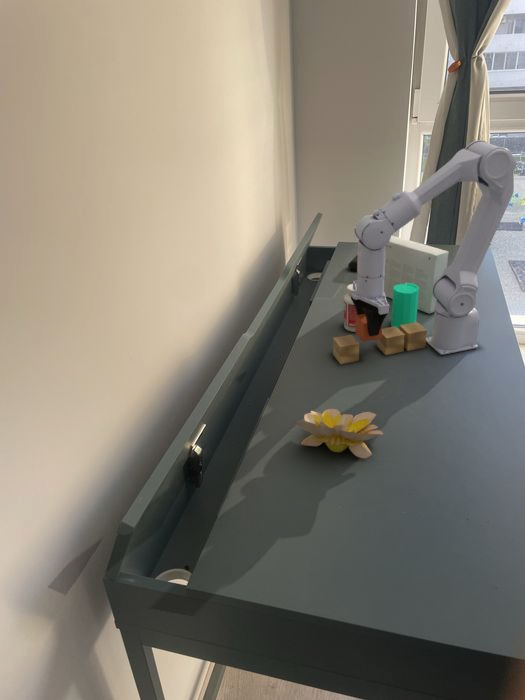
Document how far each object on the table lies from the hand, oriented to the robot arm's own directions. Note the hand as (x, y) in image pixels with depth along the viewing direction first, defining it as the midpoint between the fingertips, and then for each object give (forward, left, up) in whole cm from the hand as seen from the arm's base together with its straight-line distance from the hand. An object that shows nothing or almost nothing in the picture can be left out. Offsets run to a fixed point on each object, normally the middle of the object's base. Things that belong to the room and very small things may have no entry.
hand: (368, 329), depth 119 cm
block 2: (-6, 0, -6) cm, 8 cm away
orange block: (0, 0, -1) cm, 1 cm away
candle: (-14, -9, -6) cm, 17 cm away
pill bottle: (-3, -13, -6) cm, 15 cm away
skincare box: (-22, -23, -6) cm, 32 cm away
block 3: (-11, 0, -6) cm, 13 cm away
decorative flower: (+17, +28, -6) cm, 34 cm away
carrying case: (-24, -48, -6) cm, 54 cm away
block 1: (+5, 0, -6) cm, 8 cm away
